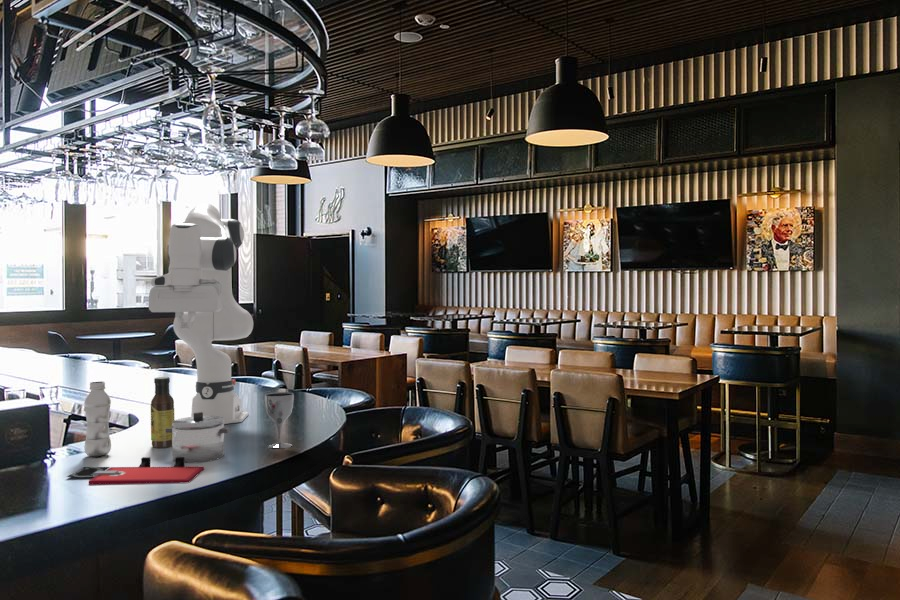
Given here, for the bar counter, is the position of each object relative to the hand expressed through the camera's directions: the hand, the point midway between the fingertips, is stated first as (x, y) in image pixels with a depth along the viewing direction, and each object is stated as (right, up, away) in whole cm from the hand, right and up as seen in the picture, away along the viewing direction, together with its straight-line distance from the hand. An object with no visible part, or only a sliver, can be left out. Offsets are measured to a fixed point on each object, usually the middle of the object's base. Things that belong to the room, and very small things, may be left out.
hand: (185, 328), depth 186 cm
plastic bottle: (-20, -35, -9) cm, 41 cm away
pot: (+8, -34, -10) cm, 36 cm away
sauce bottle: (-8, -34, +3) cm, 35 cm away
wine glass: (+26, -34, +2) cm, 43 cm away
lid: (+8, -25, -10) cm, 28 cm away
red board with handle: (-1, -35, -28) cm, 45 cm away
